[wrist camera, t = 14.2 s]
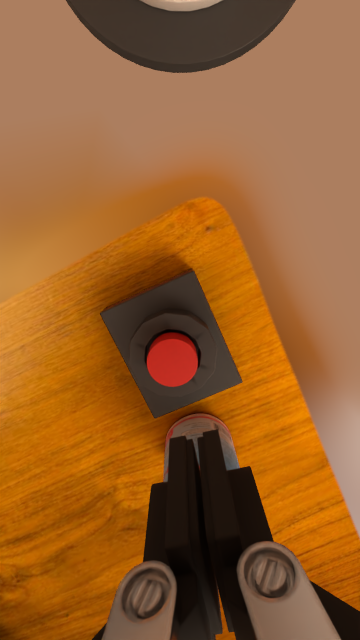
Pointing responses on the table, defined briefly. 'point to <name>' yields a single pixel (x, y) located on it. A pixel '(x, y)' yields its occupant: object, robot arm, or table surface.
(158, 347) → the button
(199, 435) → the pill bottle
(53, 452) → the table surface
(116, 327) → the button box
